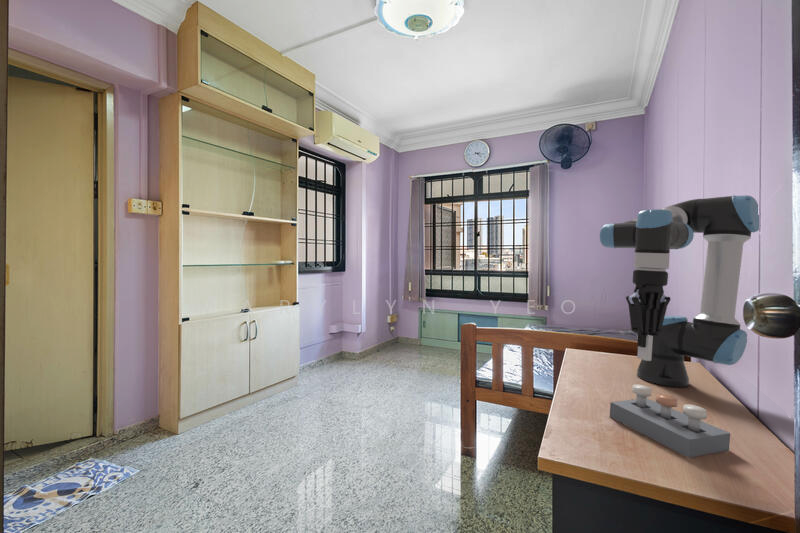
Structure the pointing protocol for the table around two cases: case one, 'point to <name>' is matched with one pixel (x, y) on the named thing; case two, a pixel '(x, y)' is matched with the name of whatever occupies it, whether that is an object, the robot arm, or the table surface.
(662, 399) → the terracotta plunger
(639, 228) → the robot arm
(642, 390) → the plunger
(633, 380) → the table surface
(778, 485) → the table surface
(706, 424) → the console
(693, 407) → the plunger
